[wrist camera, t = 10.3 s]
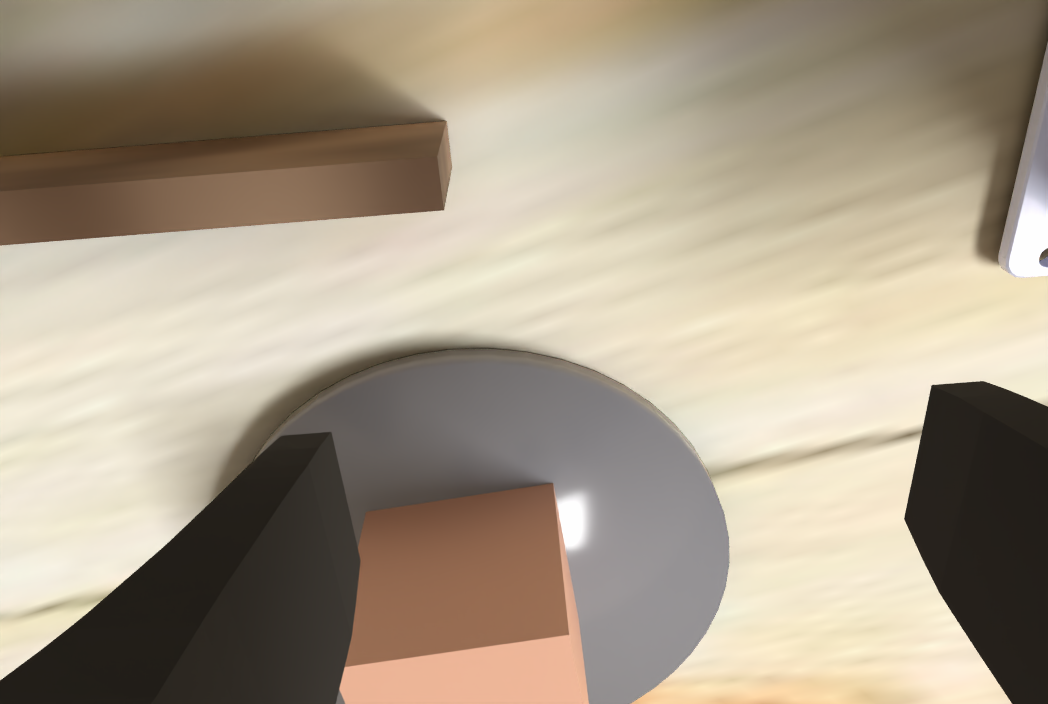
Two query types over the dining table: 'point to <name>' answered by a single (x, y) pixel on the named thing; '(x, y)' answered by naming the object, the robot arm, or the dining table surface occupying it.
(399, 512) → the terracotta block
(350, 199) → the walnut bay
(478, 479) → the charcoal plate
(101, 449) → the dining table surface
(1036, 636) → the robot arm
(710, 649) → the dining table surface
